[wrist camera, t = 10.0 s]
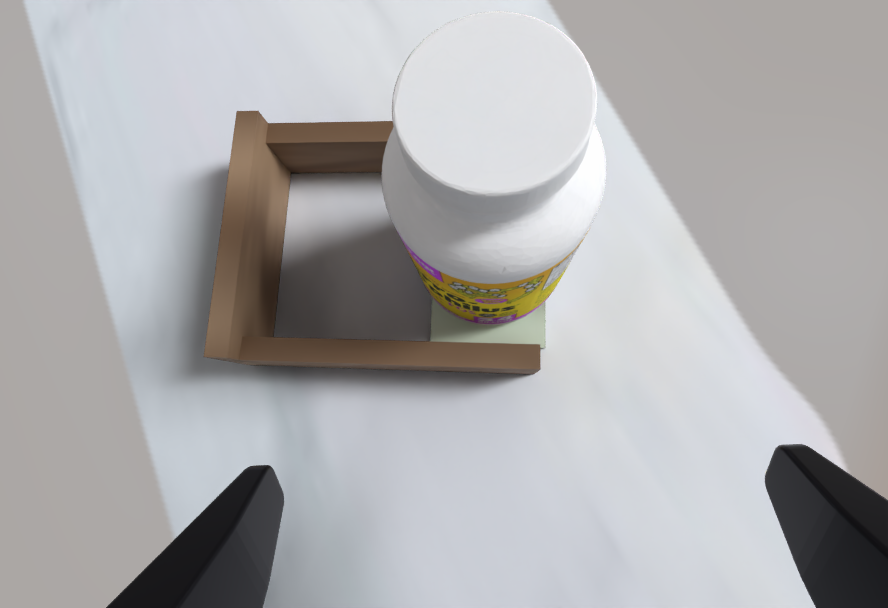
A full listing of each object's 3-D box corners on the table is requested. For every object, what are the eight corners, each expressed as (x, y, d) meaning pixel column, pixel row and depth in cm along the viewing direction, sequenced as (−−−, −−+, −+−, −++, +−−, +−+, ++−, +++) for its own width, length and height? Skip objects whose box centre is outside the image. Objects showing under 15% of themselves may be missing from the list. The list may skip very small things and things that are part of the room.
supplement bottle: (394, 280, 24) (289, 142, 11) (469, 172, 25) (447, -70, 12) (513, 356, 23) (541, 295, 10) (588, 239, 23) (700, 47, 11)
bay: (544, 374, 23) (556, 368, 19) (250, 365, 24) (203, 356, 20) (544, 152, 25) (554, 104, 21) (274, 155, 26) (236, 111, 22)
